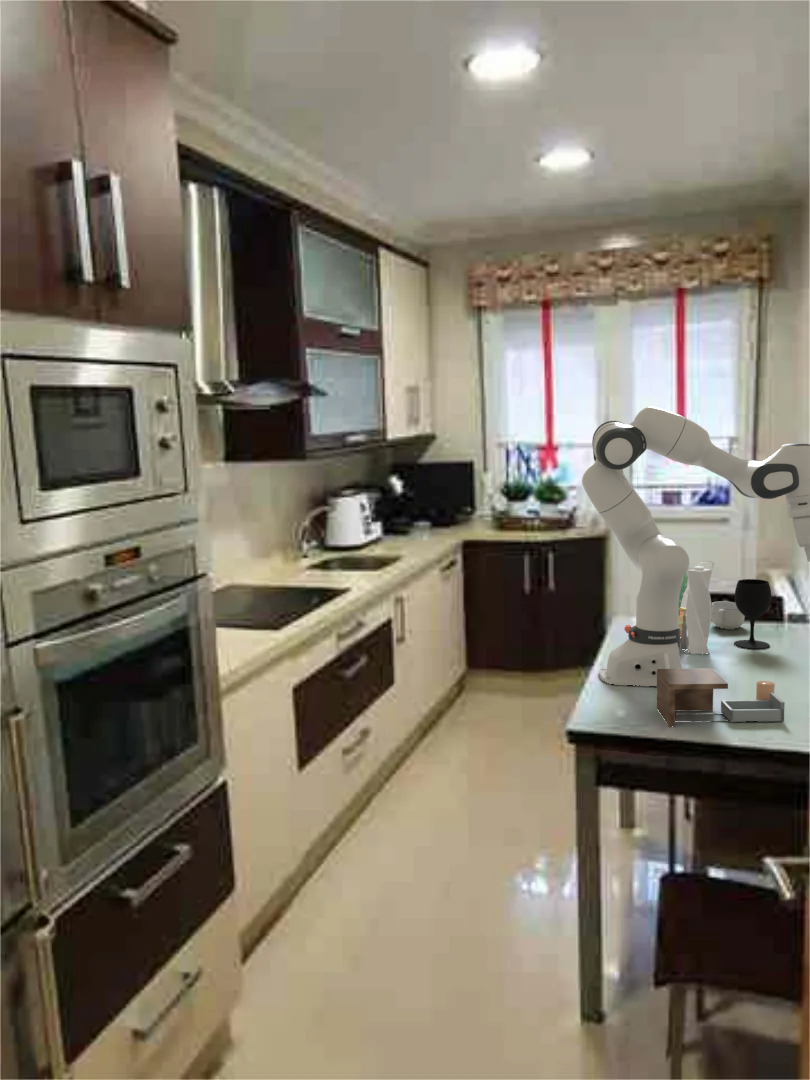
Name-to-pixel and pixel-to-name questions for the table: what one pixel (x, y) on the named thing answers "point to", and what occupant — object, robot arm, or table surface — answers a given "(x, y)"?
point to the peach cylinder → (764, 690)
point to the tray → (754, 709)
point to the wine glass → (752, 607)
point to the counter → (686, 690)
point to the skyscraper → (697, 611)
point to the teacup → (726, 615)
